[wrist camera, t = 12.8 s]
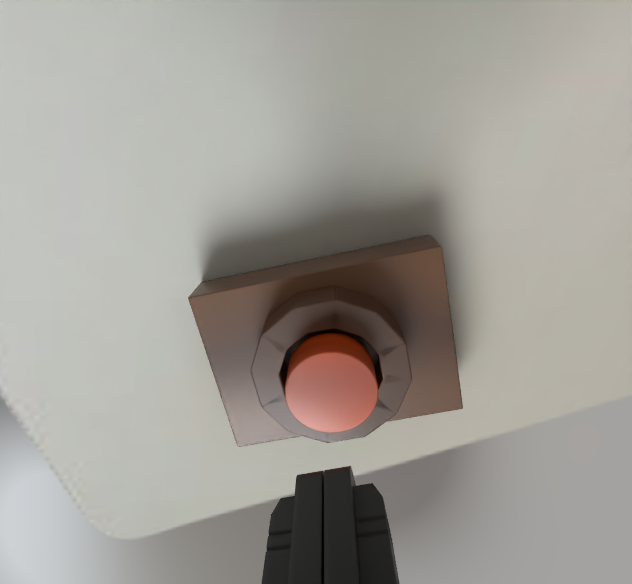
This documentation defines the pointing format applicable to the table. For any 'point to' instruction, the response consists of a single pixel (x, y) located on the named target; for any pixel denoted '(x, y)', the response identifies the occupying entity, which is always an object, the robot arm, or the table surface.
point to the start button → (331, 383)
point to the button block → (332, 317)
